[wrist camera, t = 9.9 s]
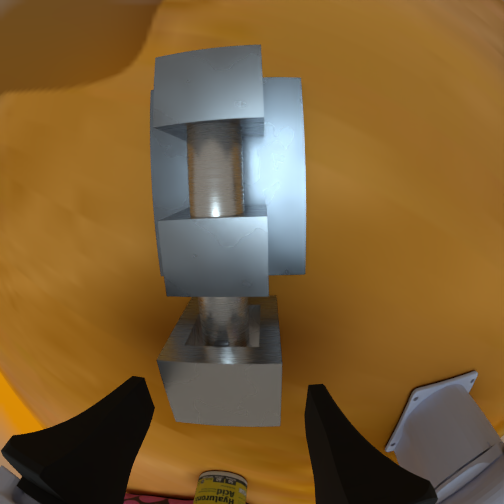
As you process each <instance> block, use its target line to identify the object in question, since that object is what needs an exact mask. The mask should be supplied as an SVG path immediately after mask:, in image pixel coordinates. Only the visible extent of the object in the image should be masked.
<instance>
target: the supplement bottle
mask: <svg viewBox="0 0 504 504" xmlns="http://www.w3.org/2000/svg"><path fill="white" fill-rule="evenodd" d="M246 493H247V482H246V480H245V479H244V478H242V477H241V476H239V475H236V474H234V473H230V472H223V471H209V472H205V473H203V474H201V475H200V477H199V480H198V484H197V488H196V493H195V497H194V502H193V504H245V503H246Z"/></svg>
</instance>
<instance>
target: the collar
mask: <svg viewBox="0 0 504 504" xmlns="http://www.w3.org/2000/svg"><path fill="white" fill-rule="evenodd" d="M248 314H249V337H250V347H216V346H204V342H203V335H202V328H201V320H200V312H199V304H198V297H192V298H191V300H190V301H189V303H188V305H187V307H186V308H185V310H184V312H183V314H182V315H181V317H180V319H179V321H178V322H177V324H176V326H175V328H174V329H173V331H172V333H171V335H170V337H169V338H168V340H167V342H166V344H165V346H164V347H163V349H162V351H161V353H160V355H159V356H158V358H157V363H158V367H159V370H160V374H161V377H162V380H163V384H164V387H165V390H166V393H167V396H168V400H169V403H170V406H171V408H172V411H173V414H174V417H175V420H176V421H177V422H185V423H195V424H206V425H220V426H250V427H262V426H280V419H281V389H282V356H281V343H280V331H279V320H278V308H277V297H276V295H274V296H269V297H248Z"/></svg>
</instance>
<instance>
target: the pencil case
mask: <svg viewBox="0 0 504 504" xmlns="http://www.w3.org/2000/svg"><path fill="white" fill-rule="evenodd" d="M193 502H194V500H178V499H170V498H162V497H156V496H146V495H133V494H127V493H125V497H124V503H123V504H193ZM245 504H247V503H245Z"/></svg>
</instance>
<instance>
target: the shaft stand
mask: <svg viewBox="0 0 504 504" xmlns="http://www.w3.org/2000/svg"><path fill="white" fill-rule="evenodd" d="M150 148H151V176H152V193H153V207H154V219H155V230H156V240H157V249H158V257H159V265H160V272H161V276H164V280H165V287H166V293H167V296H180V297H198V304H199V312H200V320H201V328H202V335H203V342H204V346H216V347H250V337H249V314H248V297H269V283H268V275H299V274H305V256H306V175H305V142H304V121H303V103H302V88H301V78H286V77H270V78H262V59H261V45H244V46H230V47H219V48H210V49H202V50H195V51H189V52H183V53H177V54H172V55H167V56H162V57H157V58H156V60H155V77H154V90H151V103H150Z"/></svg>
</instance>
